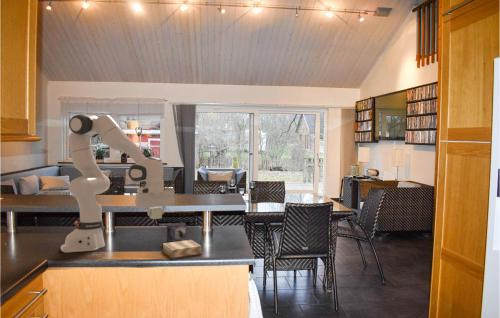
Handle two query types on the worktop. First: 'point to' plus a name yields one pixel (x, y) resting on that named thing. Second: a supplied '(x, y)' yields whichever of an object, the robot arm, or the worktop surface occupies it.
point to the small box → (176, 232)
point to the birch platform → (181, 248)
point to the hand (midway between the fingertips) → (155, 214)
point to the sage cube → (155, 213)
